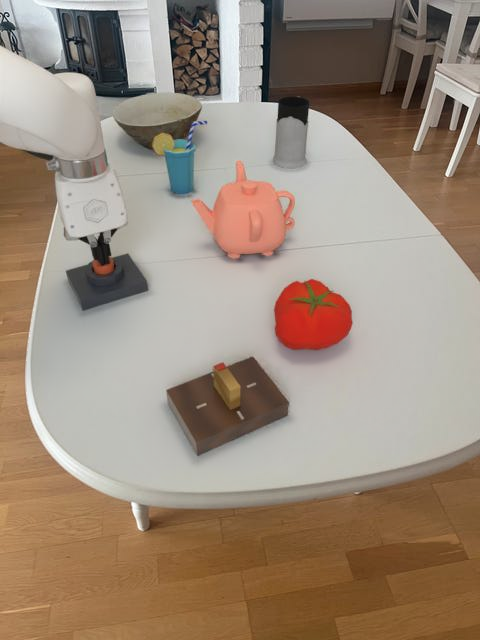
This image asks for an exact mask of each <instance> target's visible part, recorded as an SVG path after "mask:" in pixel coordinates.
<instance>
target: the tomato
mask: <svg viewBox="0 0 480 640" xmlns="http://www.w3.org/2000/svg"><path fill="white" fill-rule="evenodd" d="M273 313H274V320H275V321H274V322H275V327H274V333H275V337H276V338H277V340H278V342H280V343H281V344H282V345H283V346H284V347H286V348H288V349H291V350H293V351H298V350H299V351H300V350H310V351H311V350H312V351H319V350H323V349H328V348H331V347H333V346H335V345H337V344H338V343H340V342H341V341H343V340H344V339H345V338H346V337H347V336H348V335H349V333H350V331H351V329H352V327H353V317H352V316H353V311H352V308H351V306H350V303H348V301H347V300H346V298H345V297H343V295H341V294H339V293H336V292H335V291H334V290H331V289H330V288H329V287H328V286H326V285H325V284H324V283H323V282H321V281H320V280H317V279H313V278H311V279H308V280H304V281H303V282H301V281H298V280H296V281H293V282H291V283H289V284H288V285H286V286H285V287H284V288H283V290H282V291H281V292H280V294H279V296H278V297H277V299H276V301H275V304H274V308H273Z"/></svg>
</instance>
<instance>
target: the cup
mask: <svg viewBox="0 0 480 640" xmlns="http://www.w3.org/2000/svg"><path fill="white" fill-rule="evenodd" d="M202 125H208V121H207V120H197V121H194V122H193V123H192V125H191V128H190V132H189V134H188V136H187V139H177V140H173V138H172V136H171V135H169V134H165V133H161V134H159V135H158V136H156V137H154V140H153V143H152V147H153V149H152V150H153V151H154V153H155V155H157V156H162V157H164V158H165V164H166V169H167V175H168V180H169V185H170V186H169V187H170V190H171V192H172V193H173V194H177V195H186V194H190V193H191V192H193V191H194V178H195V153H196V151H197V147H196V145H195V143H194V142H193V141H192V139H193V135H194V131H195V127H196V126H202Z"/></svg>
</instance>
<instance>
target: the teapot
mask: <svg viewBox="0 0 480 640" xmlns="http://www.w3.org/2000/svg"><path fill="white" fill-rule="evenodd" d="M235 169H236V177H235V182H228V183H226V184H223V185H222V186H220V187H221V188H220V189H219V191H218V194H217V196H216V199H215V201H214V204H213V209H212V210H211V209H210V208H209V206H208V205H207V204H206V203H205V202H203V200H202V199H201V198H194V199H191V203H192V206H193V208H194V210H196V212H197V214H198V215H199V217H200V218H201V220H202V221H203V224H205V226H206V227H207V229H208V230H209V232H210V233H211V234H213V238H214V240H215V242H216V243H217V245H218V247H219V248H220V249H221V250H222V251H223V252H226V253H227V257H228V258H230V259H239V258H241V256H242V255H251V254H260V255H262V256H266V257H268V256H269V257H270V256H272V255H274V253H275V252H274V250H277V249H278V248H280V247H281V245H282V244H283V243H284V241H285V240H286V237H287V230H290V229H293V227H294V225H295V219H294V218H293V217H291V214H292V212H293V211H294V207H295V205H296V199H295V196H294V195H293V193H291V192H290V191H287V190H277V191H276V189H275V187H274V186H273V184H272V183H270V182H268V181H263V180H251V179H250V180H248V179H247V175H246V170H245V164H244V163H243V161H241V160H237V161H236V162H235ZM280 198H287V199H289V204H288V205H287V208H286V210H285V212H284V210H283V206H282V204H281V201H280Z"/></svg>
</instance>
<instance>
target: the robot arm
mask: <svg viewBox="0 0 480 640" xmlns="http://www.w3.org/2000/svg"><path fill="white" fill-rule="evenodd" d="M98 105H99V104H98V100H97V94H96V89H95V86H94V83H93V80H91V78H90V77H89V76H87V75H85V74H83V73H79V72H69V71H68V72H58V73H52V72H51V71H49V70H47V69H45V68H44V67H42V66H40V65H38V64H37V63H35V62H33V61H31V60H29V59H27V58H25V57H23V56H21V55H19V54H17V53H15V52H14V51H12V50H10V49H8V48H6V47H4V46H3V45H1V44H0V143H1V144H3V145H5V146H6V147H10V148H14V149H17V150H23V151H28V152H31V153H39V154H43V155H48V156H53V157H52V159H50V160H48V161H45V164H46V168H47V170H48V172H49V171H55V173H54V184H55V185H54V186H55V195H56V201H57V206H58V213H59V216H60V220H61V223H62V225H63V237H64V239H65V240H66V241H68V242H71V241H80V242H83V243H85V244H87V245H89V247H90V252H91V256H92V259H93V260H98V261H99V263H100V265H101V266H102V265H104V264H105V263H107V264H109V263H110V261H109V257H112V251H111V245H110V243H111V242H112V238H113V236H114V235H115V234H116V232H117V231H118V230H121V229H123V228H124V227H126V226H128V224H129V221H128V212H127V207H126V203H125V199H124V194H123V189H122V187H121V184H120V180H119V177H118V175H117V172H116V171H117V170H116V169H115V167H114V165H112V164H111V163H110V162H108V156H107V151H106V146H105V141H104V133H103V129H102V122H101V117H100V116H101V115H100V111H99V106H98ZM96 234H99V235H98V236H97V237H96V236H95V235H96Z"/></svg>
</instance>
